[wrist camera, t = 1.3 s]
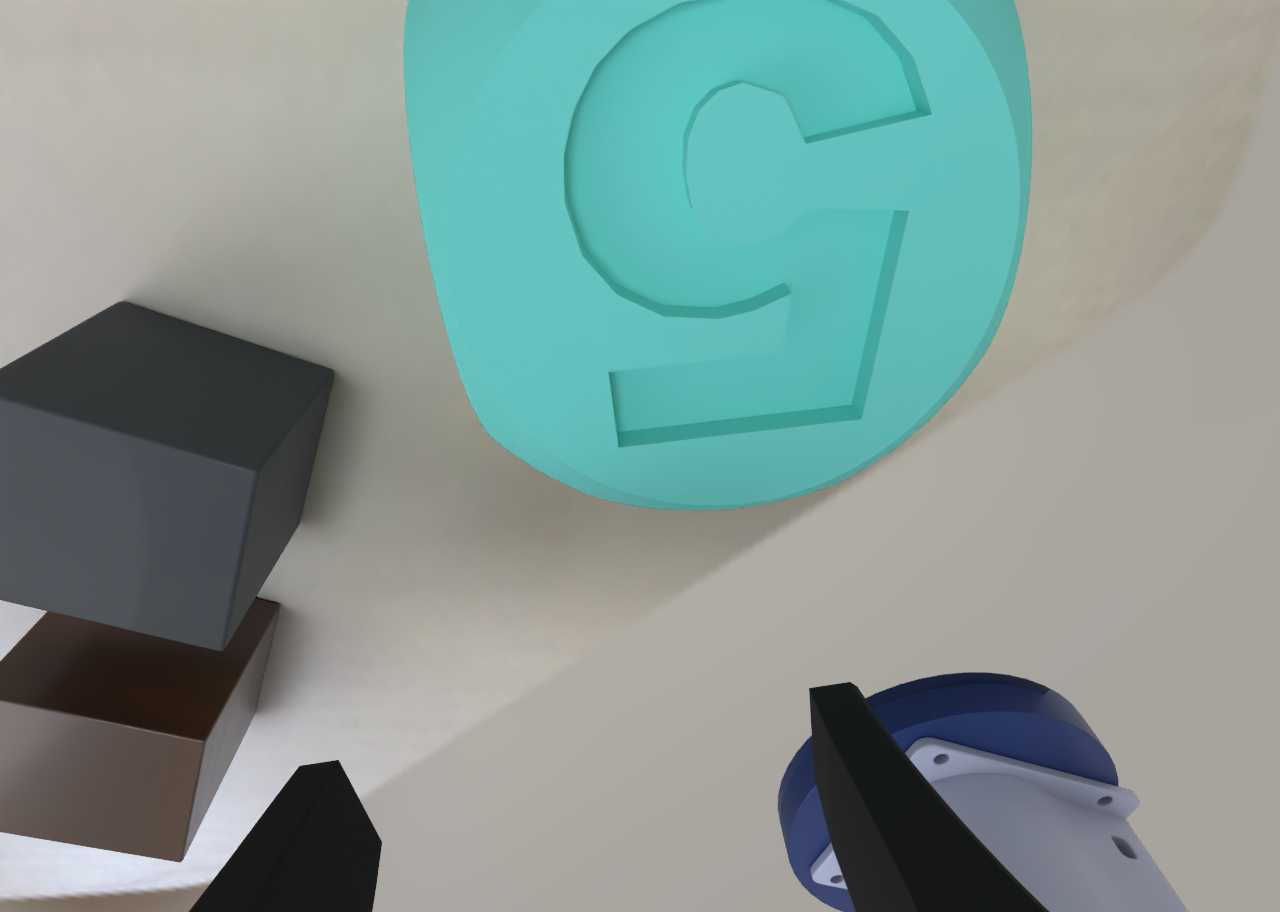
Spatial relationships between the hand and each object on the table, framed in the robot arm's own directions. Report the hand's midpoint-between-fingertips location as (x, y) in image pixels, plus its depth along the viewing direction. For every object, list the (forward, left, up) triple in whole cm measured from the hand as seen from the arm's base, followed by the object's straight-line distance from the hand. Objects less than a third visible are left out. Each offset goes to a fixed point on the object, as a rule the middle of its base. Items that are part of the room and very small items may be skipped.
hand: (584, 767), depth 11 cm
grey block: (+9, +3, -10) cm, 14 cm away
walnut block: (+9, +11, -10) cm, 17 cm away
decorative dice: (+1, -7, -10) cm, 13 cm away
